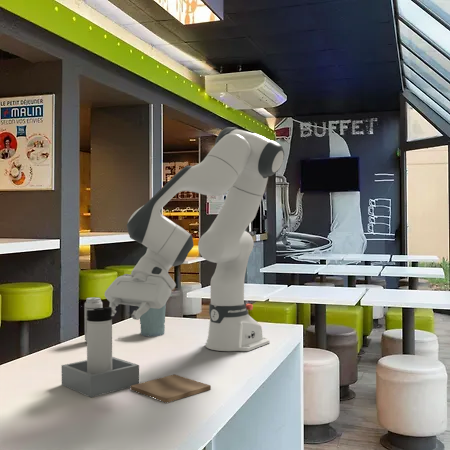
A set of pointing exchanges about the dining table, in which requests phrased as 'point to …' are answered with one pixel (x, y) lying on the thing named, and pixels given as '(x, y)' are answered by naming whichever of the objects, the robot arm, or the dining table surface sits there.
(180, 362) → the dining table surface
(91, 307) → the energy drink can
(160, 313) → the teal cup
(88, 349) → the travel mug
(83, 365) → the crate
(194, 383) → the serving board
